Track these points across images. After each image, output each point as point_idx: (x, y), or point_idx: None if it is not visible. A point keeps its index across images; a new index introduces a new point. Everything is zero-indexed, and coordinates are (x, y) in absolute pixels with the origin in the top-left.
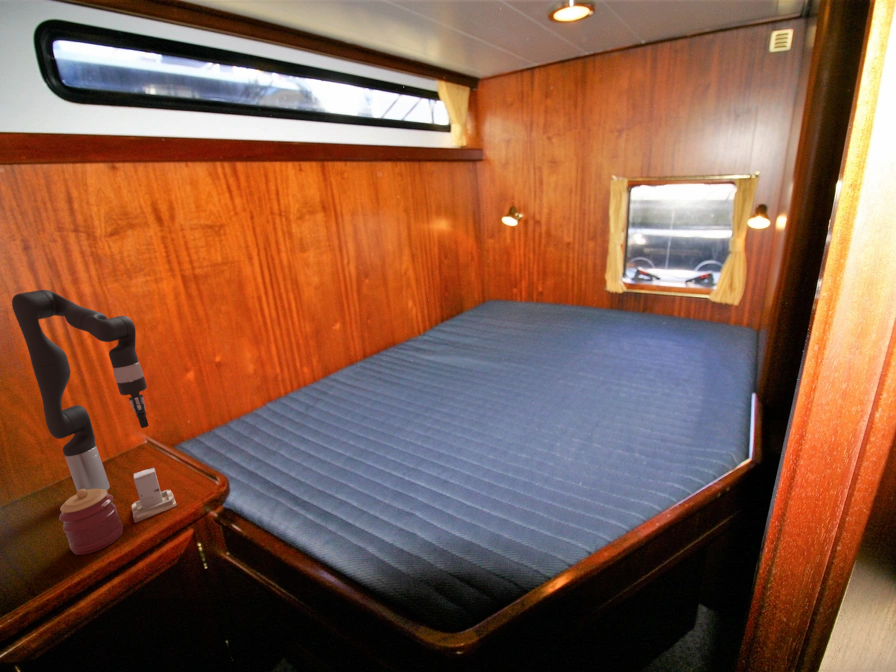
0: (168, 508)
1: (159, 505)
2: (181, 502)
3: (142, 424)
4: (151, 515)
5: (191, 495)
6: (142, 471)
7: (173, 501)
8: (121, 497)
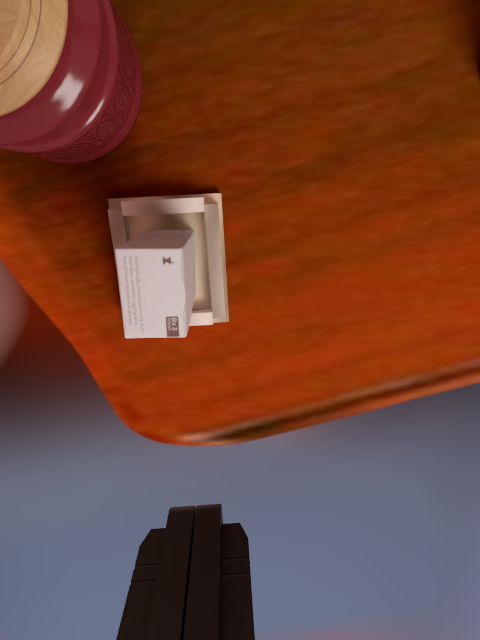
0: None
1: None
2: None
3: (140, 563)
4: None
5: (168, 366)
6: (173, 289)
7: None
8: (369, 157)
